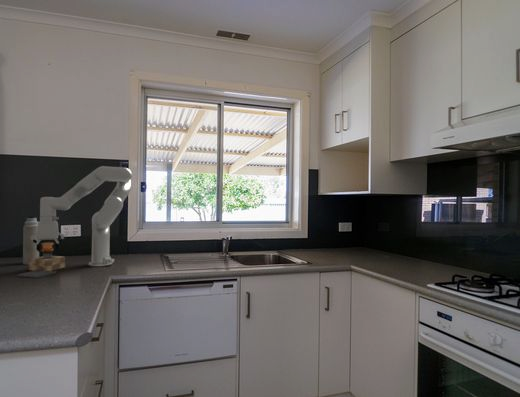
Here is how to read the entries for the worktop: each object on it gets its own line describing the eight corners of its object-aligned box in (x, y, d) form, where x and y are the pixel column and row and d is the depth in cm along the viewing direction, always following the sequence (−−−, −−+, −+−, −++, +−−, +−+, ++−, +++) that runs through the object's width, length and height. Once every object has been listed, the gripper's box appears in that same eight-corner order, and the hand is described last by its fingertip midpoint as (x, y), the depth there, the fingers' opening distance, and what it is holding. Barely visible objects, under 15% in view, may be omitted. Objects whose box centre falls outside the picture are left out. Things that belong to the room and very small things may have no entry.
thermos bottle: (32, 261, 207) (33, 215, 207) (42, 262, 205) (43, 216, 205) (19, 263, 200) (20, 216, 200) (29, 264, 197) (30, 216, 197)
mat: (56, 273, 179) (56, 271, 179) (36, 278, 167) (36, 276, 167) (37, 271, 182) (37, 269, 182) (16, 276, 170) (16, 274, 170)
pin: (56, 267, 191) (56, 243, 191) (47, 270, 185) (47, 244, 185) (47, 267, 192) (47, 242, 192) (38, 269, 186) (38, 243, 186)
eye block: (64, 267, 193) (65, 256, 193) (46, 271, 181) (47, 260, 181) (47, 265, 196) (47, 255, 196) (28, 270, 184) (28, 259, 184)
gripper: (65, 218, 196) (65, 249, 196) (29, 219, 187) (29, 251, 187) (66, 219, 190) (65, 250, 190) (28, 219, 181) (28, 253, 181)
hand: (47, 250), depth 189 cm, fingers open, 7 cm apart
